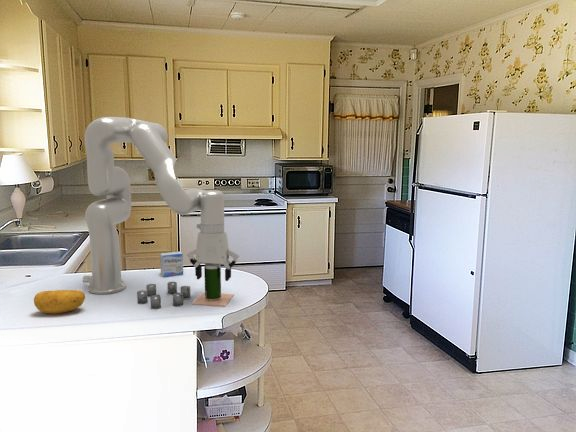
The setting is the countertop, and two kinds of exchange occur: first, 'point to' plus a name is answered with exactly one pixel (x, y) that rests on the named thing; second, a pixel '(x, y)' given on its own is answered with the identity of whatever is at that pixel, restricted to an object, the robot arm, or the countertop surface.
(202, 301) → the terracotta tile
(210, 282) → the beer can
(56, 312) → the potato
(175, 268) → the medicine box
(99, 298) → the countertop surface
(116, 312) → the countertop surface
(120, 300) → the countertop surface
